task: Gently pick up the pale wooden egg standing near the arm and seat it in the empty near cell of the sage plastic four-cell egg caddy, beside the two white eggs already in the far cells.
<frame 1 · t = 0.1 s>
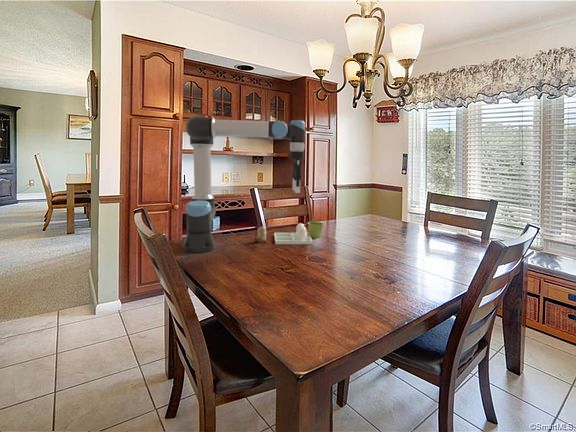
hand: (296, 191, 184), 28 cm above the table, fingers open, 13 cm apart
white egg far right: (302, 241, 186), resting on caddy
white egg far left: (300, 237, 196), resting on caddy
wooden egg: (261, 241, 189), on the table
caddy: (292, 241, 191), on the table
plant pot: (315, 238, 200), on the table
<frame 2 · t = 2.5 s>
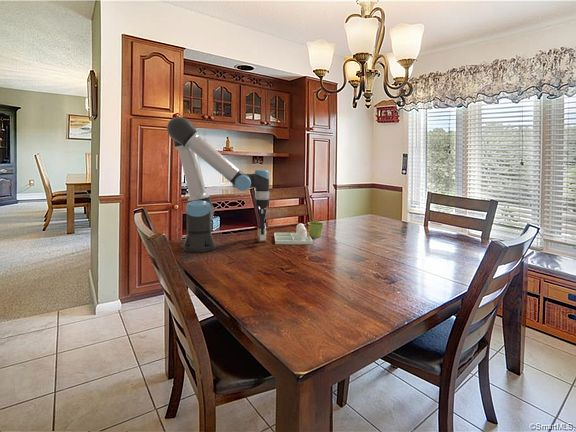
hand: (262, 237, 188), 2 cm above the table, fingers open, 13 cm apart
nothing on the table moved.
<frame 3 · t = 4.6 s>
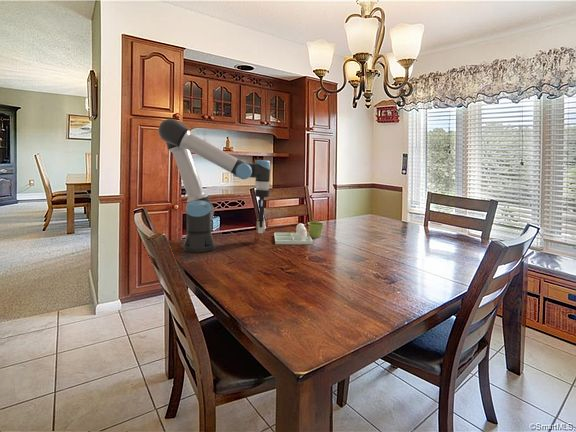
hand: (260, 231, 188), 5 cm above the table, fingers closed on wooden egg, 4 cm apart
wooden egg: (260, 232, 188), point 5 cm above the table, touching gripper
everything else where it was.
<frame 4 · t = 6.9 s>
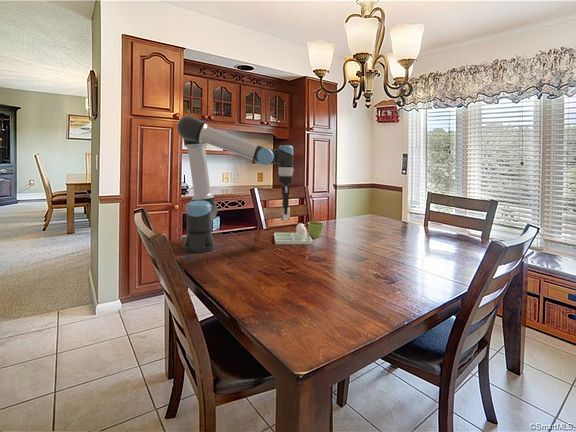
hand: (285, 219, 184), 13 cm above the table, fingers closed on wooden egg, 4 cm apart
wooden egg: (285, 219, 184), point 13 cm above the table, touching gripper
everything else where it was.
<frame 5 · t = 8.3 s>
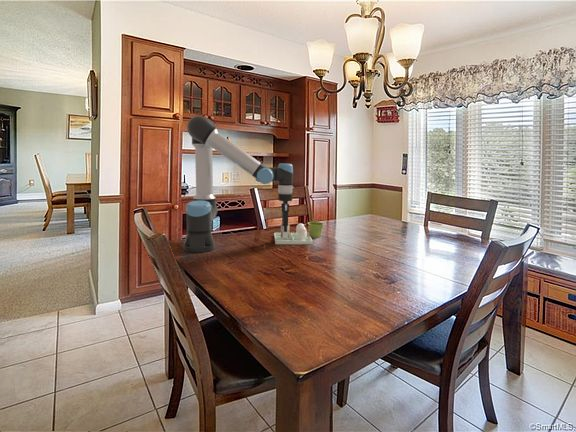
hand: (284, 236, 185), 4 cm above the table, fingers closed on wooden egg, 4 cm apart
wooden egg: (285, 236, 185), point 4 cm above the table, touching gripper
everything else where it was.
when the fingers open (3 cm above the table, at t = 9.3 s): wooden egg drops 2 cm, resting on caddy.
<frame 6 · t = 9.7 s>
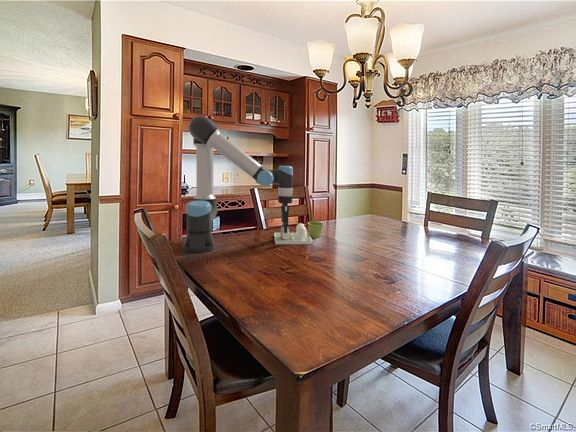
hand: (284, 236, 185), 4 cm above the table, fingers open, 10 cm apart
wooden egg: (284, 241, 186), point 1 cm above the table, touching caddy
everything else where it was.
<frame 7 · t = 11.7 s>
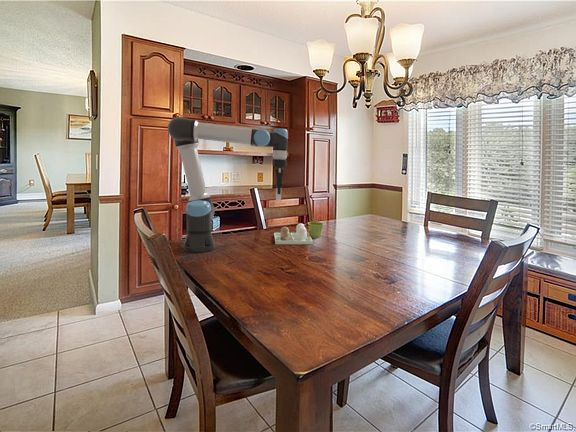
hand: (278, 198, 185), 24 cm above the table, fingers open, 13 cm apart
nothing on the table moved.
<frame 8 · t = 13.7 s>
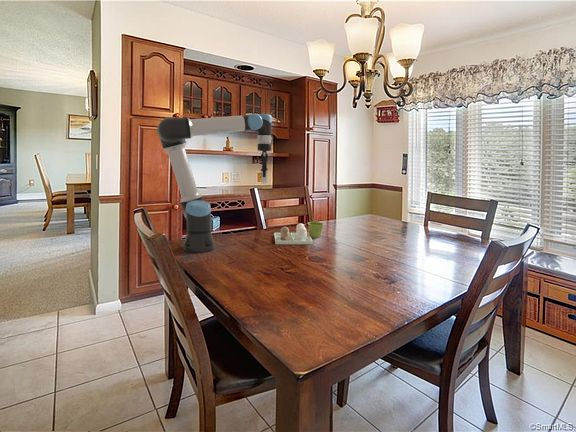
hand: (264, 182, 192), 32 cm above the table, fingers open, 13 cm apart
nothing on the table moved.
at the end: wooden egg inside the target area on the caddy (0.1 cm from its centre), point 0.8 cm above the caddy's base; wooden egg tilted 0°; the gripper is holding nothing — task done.
